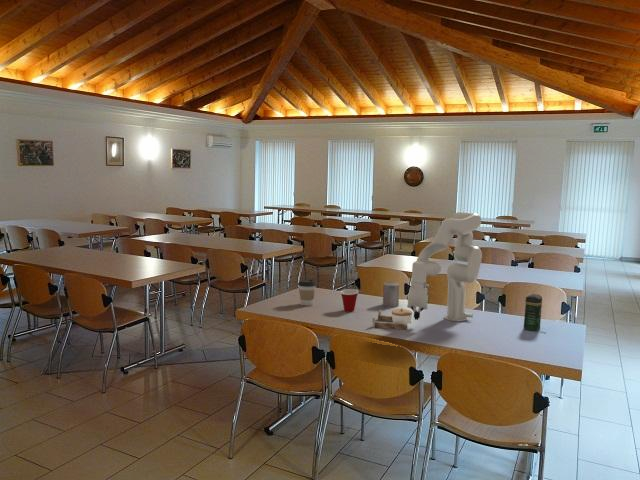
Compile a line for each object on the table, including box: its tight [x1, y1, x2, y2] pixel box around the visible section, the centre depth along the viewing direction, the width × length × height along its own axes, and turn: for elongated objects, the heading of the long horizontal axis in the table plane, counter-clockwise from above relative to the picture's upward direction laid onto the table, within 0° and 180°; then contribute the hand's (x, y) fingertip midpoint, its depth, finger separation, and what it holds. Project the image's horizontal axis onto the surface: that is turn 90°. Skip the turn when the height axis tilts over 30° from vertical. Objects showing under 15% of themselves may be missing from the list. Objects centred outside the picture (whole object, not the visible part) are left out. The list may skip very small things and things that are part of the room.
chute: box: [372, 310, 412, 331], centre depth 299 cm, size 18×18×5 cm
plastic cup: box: [339, 288, 359, 313], centre depth 327 cm, size 11×11×12 cm
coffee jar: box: [523, 293, 543, 332], centre depth 294 cm, size 10×8×19 cm
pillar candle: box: [382, 281, 400, 308], centre depth 342 cm, size 10×10×15 cm
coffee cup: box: [297, 278, 317, 306], centre depth 341 cm, size 11×11×15 cm
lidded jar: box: [391, 308, 413, 326], centre depth 298 cm, size 11×11×9 cm
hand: (416, 319), depth 295 cm, fingers closed
